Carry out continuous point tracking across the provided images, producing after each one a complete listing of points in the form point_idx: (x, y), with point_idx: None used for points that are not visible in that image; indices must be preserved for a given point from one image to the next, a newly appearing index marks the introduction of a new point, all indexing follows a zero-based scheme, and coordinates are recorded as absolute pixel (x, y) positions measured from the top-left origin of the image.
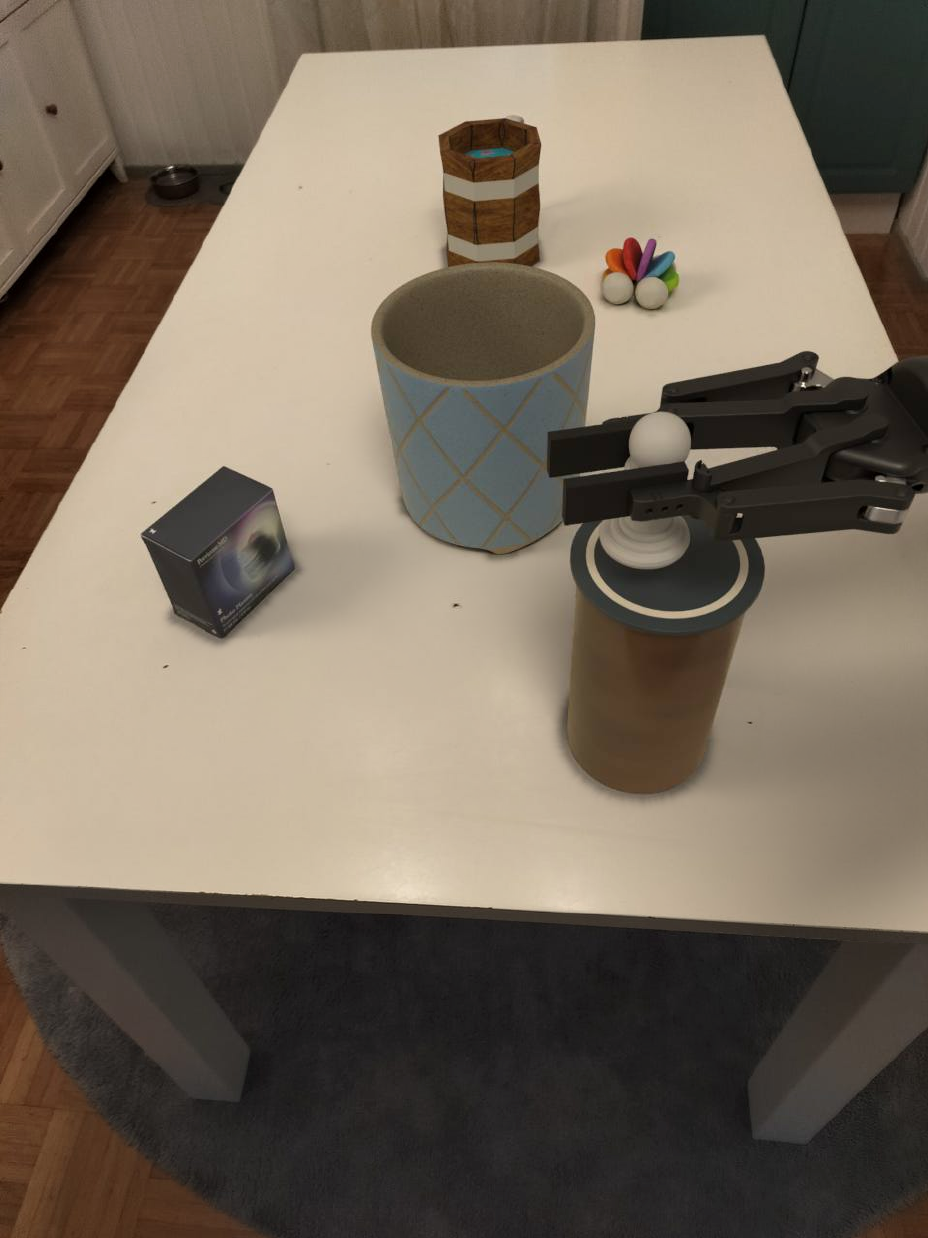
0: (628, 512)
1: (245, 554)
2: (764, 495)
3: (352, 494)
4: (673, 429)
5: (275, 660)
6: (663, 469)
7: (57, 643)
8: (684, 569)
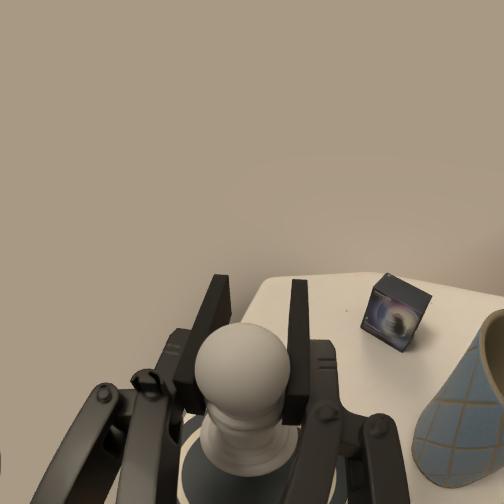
0: None
1: (390, 315)
2: (83, 434)
3: (450, 374)
4: (214, 348)
5: (346, 346)
6: (190, 354)
7: (359, 282)
8: (232, 483)
